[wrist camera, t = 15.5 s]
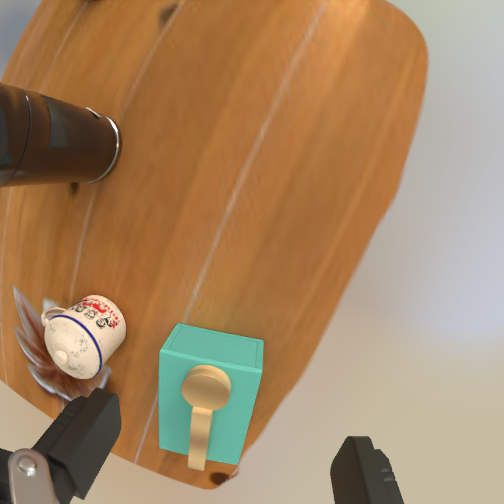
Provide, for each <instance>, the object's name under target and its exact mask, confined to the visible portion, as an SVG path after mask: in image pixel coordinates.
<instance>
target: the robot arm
mask: <svg viewBox="0 0 504 504" xmlns="http://www.w3.org/2000/svg"><path fill="white" fill-rule="evenodd" d="M86 108H87V107H86ZM87 109H89V110H87ZM87 109H84V108H81V107H78V106H75V105H72V104H69V103H66V102H63V101H60V100H57V99H54V98H51V97H48V96H45V95H41V94H38V93H34V92H31V91H28V90H24V89H21V88H17V87H14V86H10V85H6V84H3V83H0V188H1V187H13V186H23V185H38V184H56V183H94V182H98V181H100V180H102V179H103V178H105V177H106V176H107V175H108V174H109V173H110V172H111V171H112V170H113V168H114V167H115V165H116V163H117V161H118V159H119V156H120V152H121V144H122V142H121V134H120V130H119V128H118V126H117V124H116V123H115V122H114V121H113V120H112V119H111V118H110V117H108V116H106V115H103V114H100V113H95V112H94V111H92V110H91V109H90V108H87ZM120 430H121V416H120V407H119V398H118V395H117V394H115V393H112V392H109V391H106V390H104V389H101V388H96V389H94V391H93V392H92V393H91V394H90V396H89V397H88V398H86V397H84V396H80V397H78V398H76V399H74V400H72V401H70V402H69V403H68V405H67V406H66V407H65V408H64V409H63V411H62V413H60V414H59V416H58V417H57V419H56V420H54V422H53V423H52V424H51V425H50V427H49V428H48V429H47V430H46V432H45V433H44V434H43V435H42V437H41V438H40V439H39V440H38V442H37V443H36V444H35V445H34V446H33V447H32V448H31V449H27V448H26V449H25V448H24V449H19V450H16V451H15V452H11V451H7V450H4V449H1V448H0V504H70V501H71V500H72V498H73V496H76V497H78V498H80V499H82V500H84V498H85V497H86V495H87V493H88V491H89V489H90V487H91V486H92V484H93V482H94V480H95V478H96V476H97V475H98V473H99V471H100V469H101V467H102V465H103V464H104V462H105V460H106V458H107V456H108V454H109V453H110V451H111V449H112V447H113V446H114V444H115V442H116V440H117V438H118V436H119V434H120ZM330 476H331V482H332V488H333V494H334V501H335V504H404V502H403V499H402V496H401V493H400V490H399V487H398V484H397V482H396V481H395V476H394V473H393V472H392V467H391V465H390V462H389V459H388V458H387V457H386V456H385V454H383V452H382V451H381V450H380V449H376V450H374V447H373V444H372V441H371V439H370V437H368V436H348V437H347V438H346V439H345V441H344V443H343V444H342V446H341V448H340V450H339V451H338V453H337V455H336V456H335V458H334V460H333V462H332V465H331V470H330Z"/></svg>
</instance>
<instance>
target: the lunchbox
mask: <svg viewBox="0 0 504 504" xmlns="http://www.w3.org/2000/svg"><path fill="white" fill-rule="evenodd" d="M263 343H264V340H260V339H255V338H249V337H244V336H238V335H233V334H228V333H223V332H218V331H213V330H208V329H203V328H199V327H194V326H190V325H185V324H181V323H177V325H176V326H175V328H174V329H173V331H172V332H171V334H170V336H169V337H168V339H167V340H166V342H165V343H164V345H163V347H162V348H164V349H167V350H171V351H175V352H180V353H184V354H188V355H192V356H197V357H201V358H206V359H211V360H215V361H220V362H225V363H231V364H236V365H241V366H247V367H253V368H259V369H262V366H263Z"/></svg>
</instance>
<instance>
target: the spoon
mask: <svg viewBox="0 0 504 504" xmlns="http://www.w3.org/2000/svg"><path fill="white" fill-rule="evenodd" d="M231 387H232V386H231V381H230V379H229V377H228V376H227V374H226V373H225V372H224V371H222V370H221V369H219V368H217V367H214V366H211V365H198V366H195V367H193V368H191V369H190V370H189V371H188V372H187V373H186V376H185V378H184V380H183V383H182V385H181V392H182V395H183V397H184V399H185V400H186V401H187V402H188V403H189V404H190V405H192V406H193V410H192V416H191V428H190V442H189V456H188V468H192V469H197V470H201V471H204V467H205V463H206V459H207V453H208V446H209V439H210V432H211V426H212V419H213V412H214V411H215V410H219V409H221V408H223V407H224V406H225V405H226V404H227V403H228V401H229V398H230V393H231Z"/></svg>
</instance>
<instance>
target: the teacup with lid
mask: <svg viewBox="0 0 504 504" xmlns="http://www.w3.org/2000/svg"><path fill="white" fill-rule="evenodd" d="M50 316H54V317H52V318H51V319H50V320H48V319H47V318H48V317H50ZM41 321H42V324H43V325H44V326H45V327H46V329H45V343H46V346H47V349H48V351H49V353H50V355H51V357H52V359H53V360H54V361H55V363H56V364H57V365H58V366H59V367H60V368H61V369H62V370H63V371H65V372H66V373H67V374H69V375H71V376H73V377H76V378H79V379H89V378H91V377H94V376H96V375H97V374H98V373H99V371H100V370H101V367H102V365H103V364H104V363H105V362H106V361H107V359H108V358H109V357H110V356H111V355H112V354H113V353H114V351H115V350H116V349H117V348H118V347H119V346H120V345H121V343H122V342H123V341H124V339H125V336H126V324H125V320H124V318H123V315H122V314H121V312H120V310H119V309H118V308H117V307H116V305H115V304H114V303H112V302H111V301H110V300H108V299H107V298H105V297H102V296H99V295H90V296H87V297H85V298H84V299H82V300H81V301H79V302H78V303H76V304H75V305H73V306H72V307H70V308H69V309H67V310H65V309H63V308H49V309H46V310H45V311H43V313H42V314H41Z"/></svg>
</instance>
